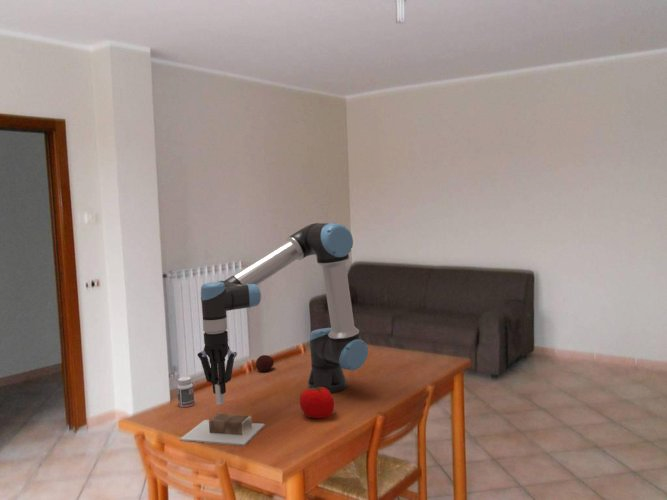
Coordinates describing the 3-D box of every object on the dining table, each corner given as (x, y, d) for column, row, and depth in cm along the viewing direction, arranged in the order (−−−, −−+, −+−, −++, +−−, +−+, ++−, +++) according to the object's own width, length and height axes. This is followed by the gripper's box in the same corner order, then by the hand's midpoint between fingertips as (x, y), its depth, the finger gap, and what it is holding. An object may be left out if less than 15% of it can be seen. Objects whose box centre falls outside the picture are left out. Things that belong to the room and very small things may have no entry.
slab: (218, 425, 193) (252, 427, 190) (209, 432, 187) (244, 435, 184) (217, 413, 193) (251, 415, 189) (208, 420, 187) (243, 422, 183)
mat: (265, 425, 193) (264, 423, 193) (244, 445, 177) (244, 443, 177) (205, 421, 199) (204, 419, 199) (179, 440, 184) (179, 438, 184)
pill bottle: (197, 402, 218) (195, 376, 217) (188, 408, 213) (187, 381, 212) (184, 401, 220) (182, 375, 219) (175, 406, 215) (173, 380, 214)
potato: (278, 368, 258) (277, 353, 257) (265, 374, 251) (264, 358, 250) (265, 366, 262) (264, 351, 261) (252, 372, 254) (251, 356, 254)
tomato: (325, 424, 191) (323, 394, 190) (293, 418, 198) (291, 388, 197) (343, 413, 200) (341, 384, 200) (312, 407, 207) (310, 379, 206)
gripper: (239, 328, 188) (243, 400, 190) (203, 328, 192) (207, 398, 194) (228, 334, 181) (233, 408, 183) (191, 333, 185) (196, 406, 187)
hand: (220, 403), depth 189 cm, fingers closed
